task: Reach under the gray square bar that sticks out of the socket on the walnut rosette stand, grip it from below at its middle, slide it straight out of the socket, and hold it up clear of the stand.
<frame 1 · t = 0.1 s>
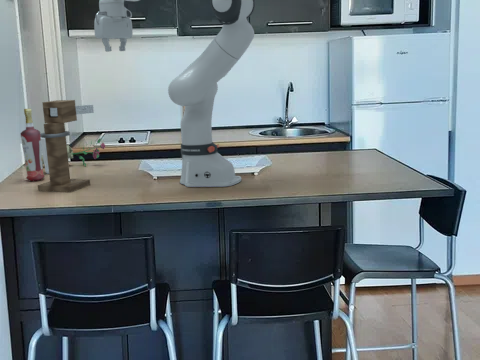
hand: (115, 51, 222), 48 cm above the countertop, tool pointing down, fingers open, 8 cm apart
rosette stand: (67, 186, 223), on the countertop
flower vase: (68, 167, 265), on the countertop
liquor: (36, 180, 238), on the countertop
gray square bar: (73, 114, 225), point 26 cm above the countertop, touching rosette stand
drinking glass: (52, 173, 252), on the countertop
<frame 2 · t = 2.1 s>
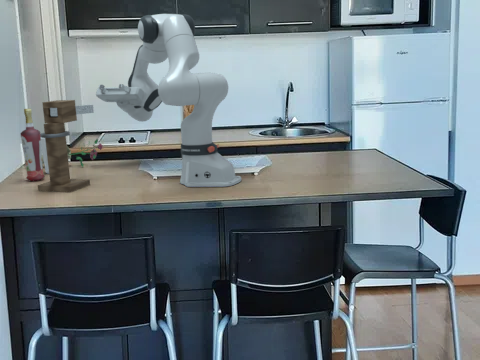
hand: (110, 86, 244), 35 cm above the countertop, tool pointing upward, fingers open, 8 cm apart
flower vase: (66, 167, 264), on the countertop
everything else where it was.
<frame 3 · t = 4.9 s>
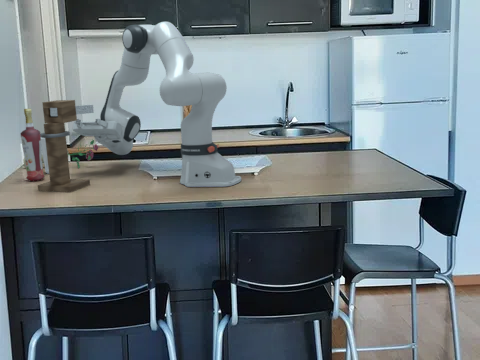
hand: (86, 120, 233), 23 cm above the countertop, tool pointing upward, fingers open, 8 cm apart
flower vase: (63, 168, 263), on the countertop
everything else where it was.
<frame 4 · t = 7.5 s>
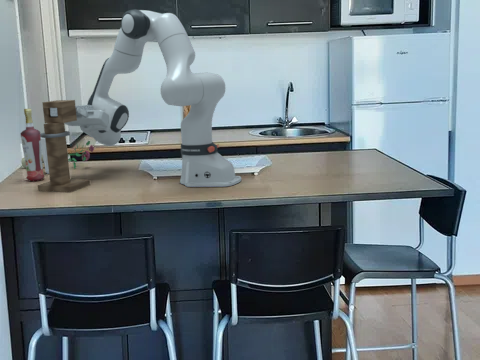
hand: (71, 109, 224), 28 cm above the countertop, tool pointing upward, fingers closed on gray square bar, 3 cm apart
flower vase: (60, 168, 262), on the countertop
gray square bar: (73, 114, 225), point 26 cm above the countertop, touching gripper, rosette stand
everything else where it was.
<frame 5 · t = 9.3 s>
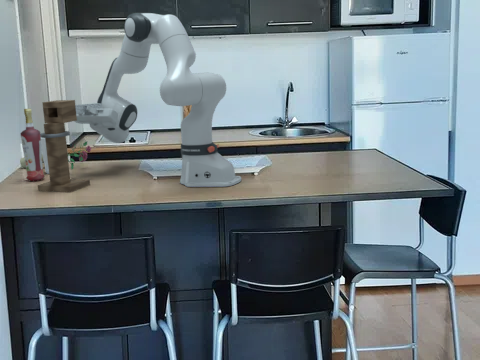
hand: (81, 107, 230), 28 cm above the countertop, tool pointing upward, fingers closed on gray square bar, 3 cm apart
gray square bar: (83, 112, 231), point 26 cm above the countertop, touching gripper
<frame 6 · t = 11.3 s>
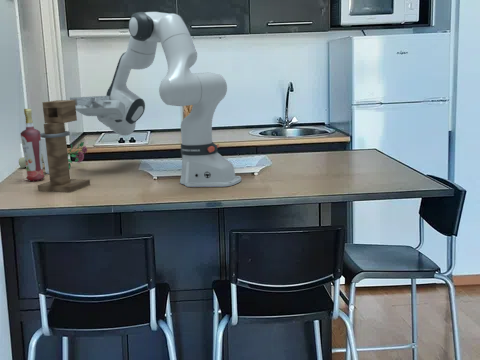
hand: (89, 99, 234), 30 cm above the countertop, tool pointing upward, fingers closed on gray square bar, 3 cm apart
flower vase: (55, 169, 261), on the countertop
gray square bar: (90, 104, 235), point 28 cm above the countertop, touching gripper
everything else where it was.
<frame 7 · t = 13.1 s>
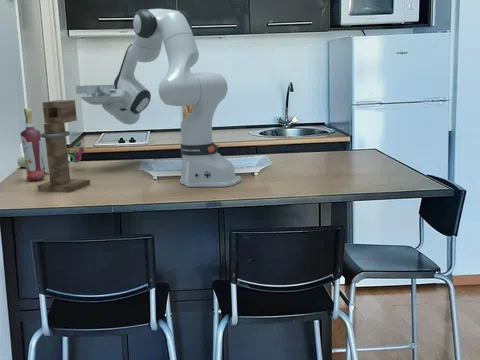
hand: (95, 88, 237), 34 cm above the countertop, tool pointing upward, fingers closed on gray square bar, 3 cm apart
gray square bar: (96, 92, 238), point 32 cm above the countertop, touching gripper
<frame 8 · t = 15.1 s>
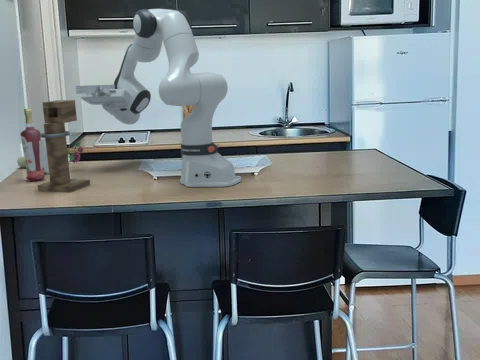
hand: (95, 88, 237), 34 cm above the countertop, tool pointing upward, fingers closed on gray square bar, 3 cm apart
flower vase: (52, 169, 260), on the countertop, touching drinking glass
gray square bar: (96, 92, 238), point 32 cm above the countertop, touching gripper
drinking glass: (52, 172, 252), on the countertop, touching flower vase
everything else where it was.
at the end: the gripper is holding gray square bar; gray square bar inside the target area (0.1 cm from its centre), point 32.5 cm above the countertop; gray square bar tilted 3° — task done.
